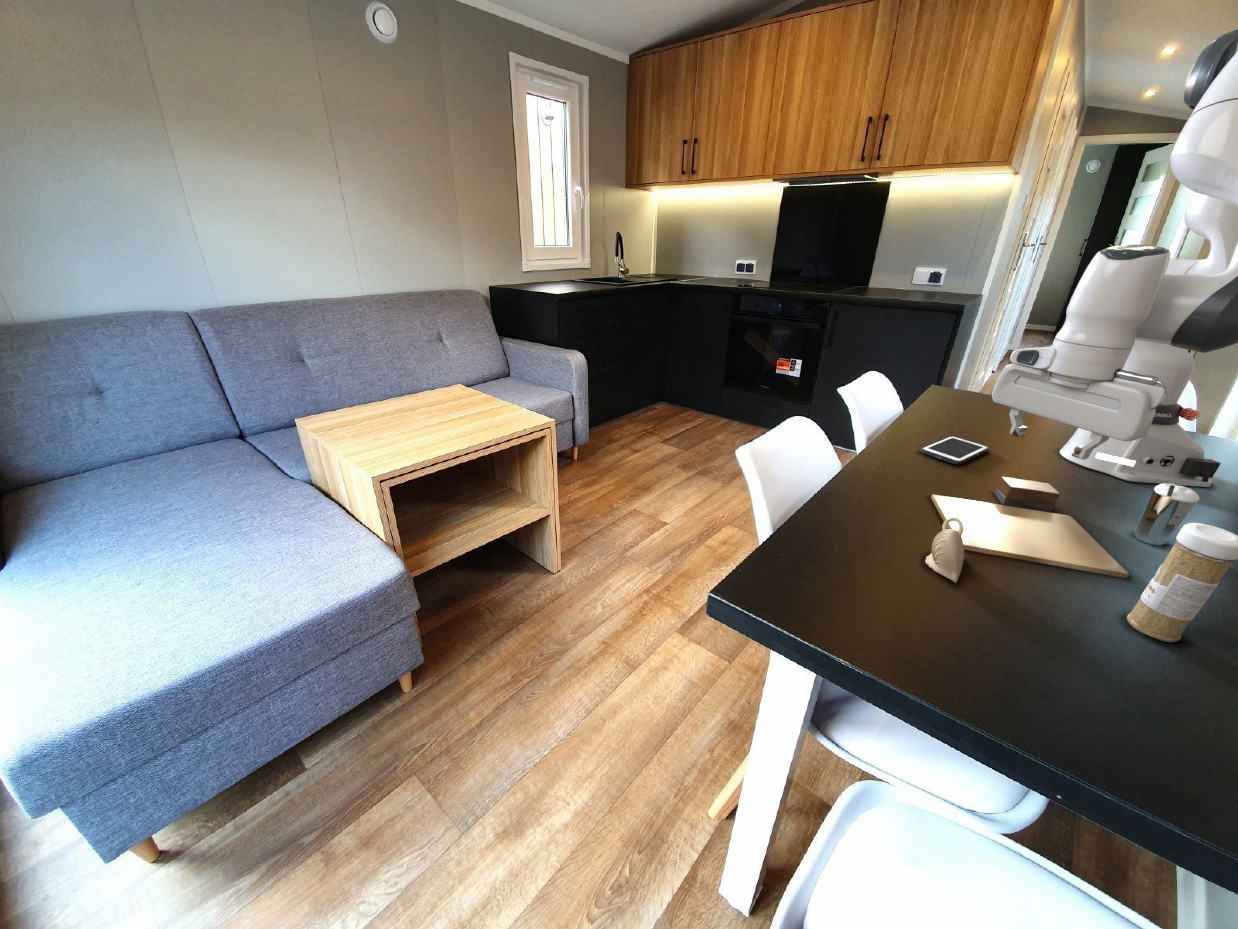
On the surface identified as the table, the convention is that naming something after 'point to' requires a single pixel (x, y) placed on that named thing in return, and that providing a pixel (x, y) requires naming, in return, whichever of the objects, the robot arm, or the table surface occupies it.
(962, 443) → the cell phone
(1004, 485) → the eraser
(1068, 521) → the writing board
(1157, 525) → the silver metal cylinder
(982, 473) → the table surface
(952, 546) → the decorative ornament
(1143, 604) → the sprinkles bottle
